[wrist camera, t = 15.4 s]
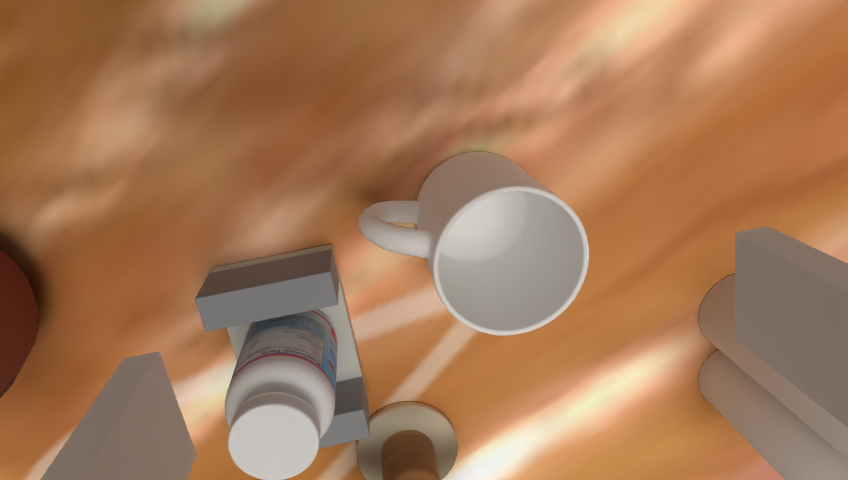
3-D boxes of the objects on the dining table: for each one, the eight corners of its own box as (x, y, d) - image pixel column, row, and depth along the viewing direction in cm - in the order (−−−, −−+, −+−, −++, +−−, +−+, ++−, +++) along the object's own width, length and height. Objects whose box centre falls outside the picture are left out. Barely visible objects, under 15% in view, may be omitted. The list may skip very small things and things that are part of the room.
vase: (696, 280, 45) (948, 459, 26) (788, 261, 45) (1102, 424, 26) (698, 408, 49) (918, 644, 30) (783, 389, 49) (1053, 611, 30)
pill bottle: (320, 388, 43) (310, 505, 32) (235, 363, 41) (196, 477, 31) (350, 315, 41) (351, 412, 31) (263, 287, 40) (233, 378, 29)
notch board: (212, 267, 40) (194, 299, 35) (332, 243, 41) (330, 271, 36) (259, 417, 44) (249, 463, 39) (367, 394, 45) (370, 437, 40)
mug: (350, 255, 41) (351, 324, 31) (364, 133, 38) (370, 167, 29) (520, 271, 43) (570, 341, 33) (544, 156, 40) (606, 196, 31)
